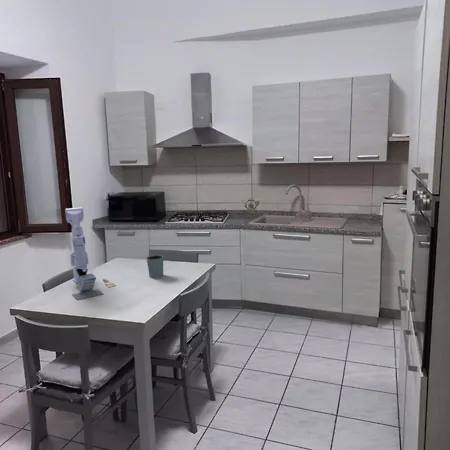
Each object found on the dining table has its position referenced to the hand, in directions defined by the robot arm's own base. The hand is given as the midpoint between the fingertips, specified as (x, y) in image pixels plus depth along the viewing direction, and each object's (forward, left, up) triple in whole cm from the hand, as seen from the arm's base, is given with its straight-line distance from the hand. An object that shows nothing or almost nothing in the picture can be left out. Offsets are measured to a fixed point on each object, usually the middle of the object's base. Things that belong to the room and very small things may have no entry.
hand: (82, 281), depth 223 cm
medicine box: (+1, 0, -4) cm, 4 cm away
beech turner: (-4, +15, -6) cm, 16 cm away
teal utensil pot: (+2, +43, -6) cm, 43 cm away
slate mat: (+8, 0, -6) cm, 10 cm away
